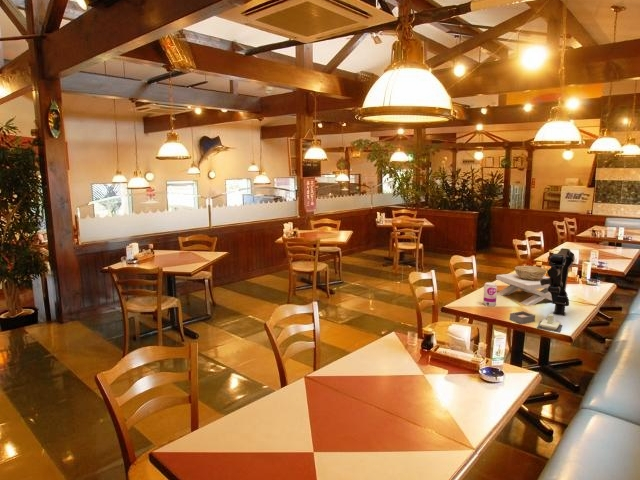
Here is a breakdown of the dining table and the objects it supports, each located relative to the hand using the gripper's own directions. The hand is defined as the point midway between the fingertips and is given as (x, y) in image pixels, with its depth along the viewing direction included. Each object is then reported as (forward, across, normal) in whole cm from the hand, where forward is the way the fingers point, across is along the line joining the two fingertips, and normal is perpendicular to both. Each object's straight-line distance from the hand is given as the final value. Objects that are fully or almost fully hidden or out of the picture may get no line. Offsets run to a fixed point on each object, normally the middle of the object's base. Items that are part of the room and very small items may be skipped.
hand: (554, 299), depth 265 cm
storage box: (+13, +11, -16) cm, 23 cm away
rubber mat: (+13, +14, 0) cm, 19 cm away
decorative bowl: (+13, -47, -21) cm, 53 cm away
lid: (+13, +14, 0) cm, 19 cm away
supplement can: (+13, -12, -40) cm, 44 cm away
